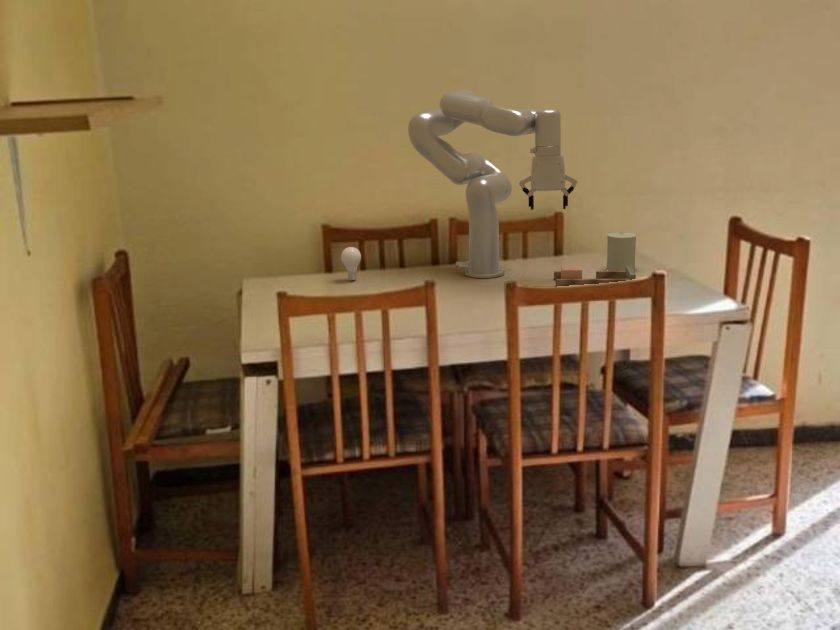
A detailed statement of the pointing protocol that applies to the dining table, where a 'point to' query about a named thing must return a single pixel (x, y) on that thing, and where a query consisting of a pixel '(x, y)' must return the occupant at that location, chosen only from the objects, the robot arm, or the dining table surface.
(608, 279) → the channel
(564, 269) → the block
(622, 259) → the can
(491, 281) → the dining table surface
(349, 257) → the lightbulb
